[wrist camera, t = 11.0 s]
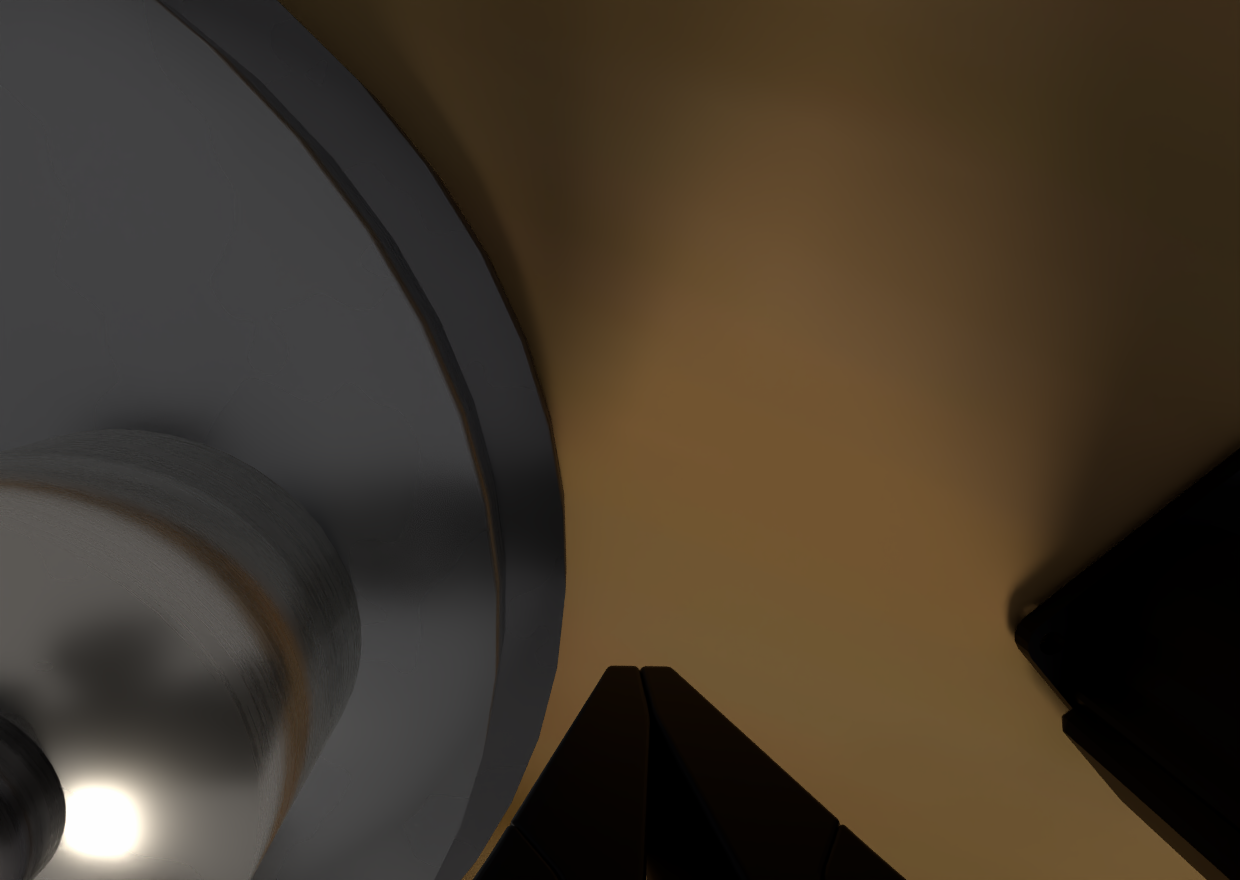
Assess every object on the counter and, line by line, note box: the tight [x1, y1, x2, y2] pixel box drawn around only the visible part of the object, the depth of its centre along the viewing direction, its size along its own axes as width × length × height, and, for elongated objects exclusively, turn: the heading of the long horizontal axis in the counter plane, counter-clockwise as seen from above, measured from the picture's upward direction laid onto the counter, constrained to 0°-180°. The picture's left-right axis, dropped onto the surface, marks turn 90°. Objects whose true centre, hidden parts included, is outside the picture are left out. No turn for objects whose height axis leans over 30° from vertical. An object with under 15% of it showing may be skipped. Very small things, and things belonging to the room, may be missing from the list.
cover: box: [0, 429, 362, 880], centre depth 7 cm, size 6×6×4 cm
